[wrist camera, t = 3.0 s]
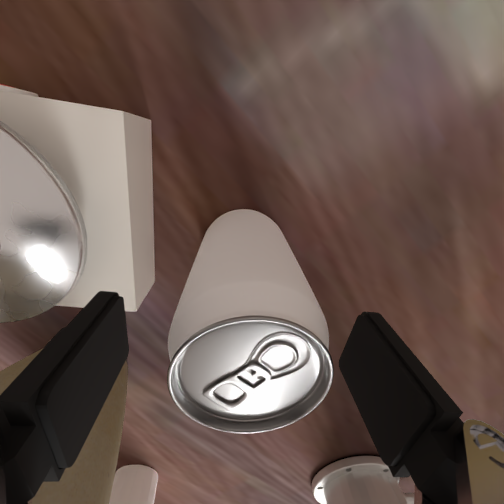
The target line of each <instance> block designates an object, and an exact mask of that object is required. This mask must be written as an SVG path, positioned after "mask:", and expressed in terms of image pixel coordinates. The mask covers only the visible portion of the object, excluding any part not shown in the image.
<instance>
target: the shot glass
mask: <svg viewBox="0 0 504 504" xmlns="http://www.w3.org/2000/svg"><path fill="white" fill-rule="evenodd" d="M157 481H158V473H157V472H156V471H155V470H154V469H152V468H150V467H148V466H144V465H127V466H123V467H121V468H119V469H118V470H117V471H116V473H115V477H114V482H113V487H112V492H111V496H110V501H109V504H154V499H155V493H156V487H157Z"/></svg>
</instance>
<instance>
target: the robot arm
mask: <svg viewBox="0 0 504 504" xmlns="http://www.w3.org/2000/svg"><path fill="white" fill-rule="evenodd" d="M128 352H129V346H128V337H127V327H126V317H125V307H124V299H123V297H121V296H119V294H118V293H117V292H108V291H99V292H98V293H97V294H96V295H95V296H94V297H93V298H92V299H91V300H90V301H89V303H88V304H87V305H86V306H85V307H84V308H83V309H82V310H81V311H80V312H79V314H78V315H77V316H76V317H75V318H74V319H73V320H72V321H71V322H70V323H69V325H68V326H67V327H65V328H63V329H61V330H60V331H59V332H58V333H57V334H56V335H55V336H54V338H53V339H52V340H51V341H50V342H49V343H48V344H47V345H46V346H45V347H44V348H43V349H42V350H41V352H40V353H39V354H38V355H37V356H36V357H35V358H34V359H33V360H32V361H31V362H30V363H29V365H28V366H27V367H26V368H25V369H24V370H23V371H22V372H21V373H20V374H19V375H18V376H17V377H16V379H15V380H14V381H13V382H12V383H11V384H10V385H9V386H8V387H7V388H6V389H5V390H4V391H3V393H2V394H1V395H0V504H32V498H33V497H35V495H36V493H37V492H38V490H39V488H40V486H41V484H42V483H43V482H59V481H60V479H61V477H62V475H63V473H64V471H65V469H66V468H70V467H71V466H72V465H73V464H74V463H75V461H76V459H77V457H78V455H79V453H80V451H81V449H82V447H83V445H84V443H85V441H86V439H87V437H88V435H89V433H90V431H91V429H92V427H93V425H94V423H95V421H96V419H97V417H98V415H99V413H100V411H101V409H102V407H103V405H104V403H105V401H106V399H107V397H108V395H109V393H110V391H111V389H112V387H113V385H114V383H115V381H116V379H117V377H118V375H119V373H120V371H121V369H122V367H123V365H124V363H125V361H126V359H127V356H128ZM339 367H340V370H341V372H342V374H343V377H344V379H345V381H346V383H347V385H348V388H349V390H350V392H351V394H352V396H353V398H354V401H355V403H356V405H357V407H358V409H359V411H360V414H361V416H362V418H363V420H364V422H365V424H366V427H367V429H368V431H369V433H370V435H371V438H372V440H373V442H374V444H375V446H376V448H377V451H378V453H379V455H380V457H377V456H355V457H349V458H345V459H342V460H339V461H336V462H334V463H331V464H330V465H328V466H326V467H324V468H323V469H322V470H320V471H319V472H318V473H317V474H316V475H315V477H314V479H313V481H312V490H313V495H314V497H315V499H316V500H317V501H318V502H319V503H321V504H504V434H502V433H501V432H500V431H498V430H497V429H495V428H494V427H492V426H490V425H488V424H486V423H484V422H482V421H479V420H475V419H470V420H466V421H465V422H464V423H463V422H462V421H461V419H460V418H459V417H460V416H461V414H462V413H463V412H462V411H461V410H460V409H459V407H458V406H457V405H456V404H455V403H454V401H453V400H452V399H451V398H450V397H449V395H448V394H447V393H446V392H445V391H444V390H443V388H442V387H441V386H440V385H439V384H438V382H437V381H436V380H435V379H434V378H433V376H432V375H431V374H430V373H429V372H428V370H427V369H426V368H425V367H424V366H423V364H422V363H421V362H420V361H419V360H418V359H417V357H416V356H415V355H414V354H413V353H412V351H411V350H410V349H409V348H408V347H407V345H406V344H405V343H404V342H403V341H402V339H401V338H400V337H399V336H398V335H397V333H396V332H395V331H394V330H393V329H392V328H391V326H390V325H389V324H388V323H387V322H386V320H385V319H384V318H383V317H382V316H381V315H380V314H379V313H374V312H363V313H362V314H361V315H359V316H358V317H357V319H356V322H355V324H354V326H353V329H352V331H351V334H350V336H349V338H348V341H347V343H346V345H345V348H344V350H343V352H342V355H341V357H340V360H339ZM410 475H411V477H412V479H413V481H414V483H415V493H404V492H403V491H401V489H400V486H399V484H398V483H399V479H400V477H409V476H410Z"/></svg>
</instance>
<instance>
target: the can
mask: <svg viewBox="0 0 504 504" xmlns="http://www.w3.org/2000/svg"><path fill="white" fill-rule="evenodd" d="M328 348H329V332H328V326H327V323H326V320H325V317H324V314H323V312H322V310H321V308H320V306H319V303H318V301H317V299H316V297H315V295H314V293H313V291H312V289H311V287H310V285H309V283H308V281H307V280H306V278H305V276H304V274H303V272H302V270H301V268H300V266H299V264H298V262H297V260H296V258H295V256H294V254H293V252H292V250H291V248H290V246H289V245H288V243H287V241H286V239H285V237H284V235H283V233H282V231H281V230H280V228H279V227H278V226H277V224H276V223H275V222H274V221H273V220H271V219H270V218H269V217H267V216H266V215H264V214H262V213H260V212H258V211H254V210H249V209H239V210H233V211H230V212H227V213H225V214H223V215H221V216H220V217H218V218H217V219H216V220H215V221H214V222H213V223H212V224H211V225H210V227H209V228H208V230H207V231H206V233H205V236H204V238H203V240H202V243H201V245H200V248H199V251H198V253H197V256H196V258H195V261H194V263H193V266H192V269H191V271H190V274H189V277H188V279H187V282H186V284H185V287H184V290H183V292H182V295H181V298H180V300H179V303H178V306H177V309H176V311H175V314H174V317H173V320H172V323H171V326H170V331H169V336H168V352H169V358H170V365H169V369H168V374H167V384H168V389H169V392H170V395H171V397H172V399H173V401H174V403H175V404H176V405H177V407H178V408H179V409H180V410H181V411H182V412H183V413H184V414H185V415H187V416H188V417H189V418H191V419H192V420H194V421H196V422H197V423H199V424H201V425H204V426H206V427H209V428H212V429H215V430H219V431H224V432H230V433H259V432H266V431H271V430H275V429H278V428H282V427H285V426H287V425H290V424H292V423H294V422H296V421H298V420H300V419H302V418H303V417H305V416H306V415H308V414H309V413H310V412H312V411H313V410H314V409H315V408H316V407H317V406H318V405H319V404H320V403H321V402H322V401H323V399H324V398H325V396H326V395H327V393H328V391H329V389H330V387H331V384H332V380H333V362H332V359H331V356H330V353H329V351H328Z"/></svg>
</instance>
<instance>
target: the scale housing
mask: <svg viewBox="0 0 504 504" xmlns="http://www.w3.org/2000/svg"><path fill="white" fill-rule="evenodd" d="M0 121H2V122H3V123H4V124H6V125H7V126H9V127H10V128H11V129H13V130H14V131H16V132H17V133H18V134H20V135H21V136H22V137H23V138H24V139H26V140H27V141H28V142H29V143H30V144H31V145H33V146H34V147H35V148H36V149H37V150H38V151H39V152H40V153H41V154H42V155H43V156H44V157H45V158H46V159H47V160H48V161H49V162H50V164H51V165H52V166H53V167H54V169H55V170H56V171H57V172H58V174H59V175H60V176H61V177H62V179H63V180H64V182H65V184H66V185H67V187H68V188H69V190H70V191H71V193H72V195H73V197H74V199H75V201H76V203H77V205H78V207H79V209H80V212H81V215H82V218H83V220H84V224H85V229H86V233H87V243H88V252H87V261H86V265H85V269H84V272H83V274H82V276H81V278H80V280H79V282H78V283H77V284H76V286H75V287H74V289H73V290H72V291H71V292H70V293H69V294H68V295H67V296H65V297H64V298H63V299H62V300H61V301H60V302H58V303H57V304H56V305H55V306H67V307H80V308H84V307H85V306H86V305H87V304H88V303H89V301H90V300H91V299H92V298H93V297H94V296H95V295H96V294H97V293H98V292H99V291H108V292H117V293H118V294H119V296H121V297H123V299H124V307H125V311H131V312H136V311H137V310H138V308H139V306H140V305H141V303H142V302H143V300H144V298H145V297H146V295H147V294H148V292H149V290H150V289H151V287H152V286H153V284H154V282H155V259H154V216H153V174H152V131H151V120H149V119H146V118H143V117H140V116H137V115H134V114H131V113H127V112H124V111H119V110H113V109H107V108H101V107H95V106H89V105H83V104H77V103H71V102H65V101H59V100H53V99H47V98H41V97H38V94H36V93H33V92H29V91H25V90H21V89H17V88H15V87H12V86H8V85H4V84H1V83H0Z"/></svg>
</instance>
